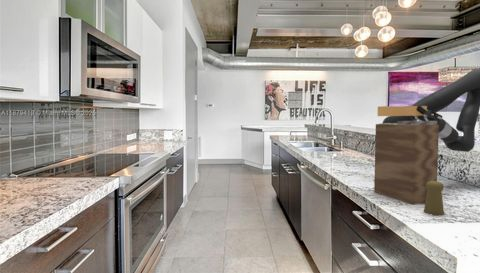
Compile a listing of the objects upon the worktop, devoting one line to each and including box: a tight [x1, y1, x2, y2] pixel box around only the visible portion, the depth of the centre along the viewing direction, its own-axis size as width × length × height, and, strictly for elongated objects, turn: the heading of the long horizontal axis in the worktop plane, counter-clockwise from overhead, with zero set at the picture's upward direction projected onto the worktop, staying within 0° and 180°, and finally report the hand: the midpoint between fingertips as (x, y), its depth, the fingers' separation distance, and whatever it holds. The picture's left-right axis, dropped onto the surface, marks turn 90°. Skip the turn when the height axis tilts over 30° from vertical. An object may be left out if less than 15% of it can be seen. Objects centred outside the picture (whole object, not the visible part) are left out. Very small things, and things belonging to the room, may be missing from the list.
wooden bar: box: [377, 105, 427, 117], centre depth 132 cm, size 22×4×4 cm, turn 108°
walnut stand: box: [373, 120, 439, 205], centre depth 128 cm, size 12×20×32 cm, turn 18°
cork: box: [423, 180, 445, 216], centre depth 107 cm, size 6×6×11 cm
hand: (412, 107), depth 133 cm, fingers closed on wooden bar, 4 cm apart
